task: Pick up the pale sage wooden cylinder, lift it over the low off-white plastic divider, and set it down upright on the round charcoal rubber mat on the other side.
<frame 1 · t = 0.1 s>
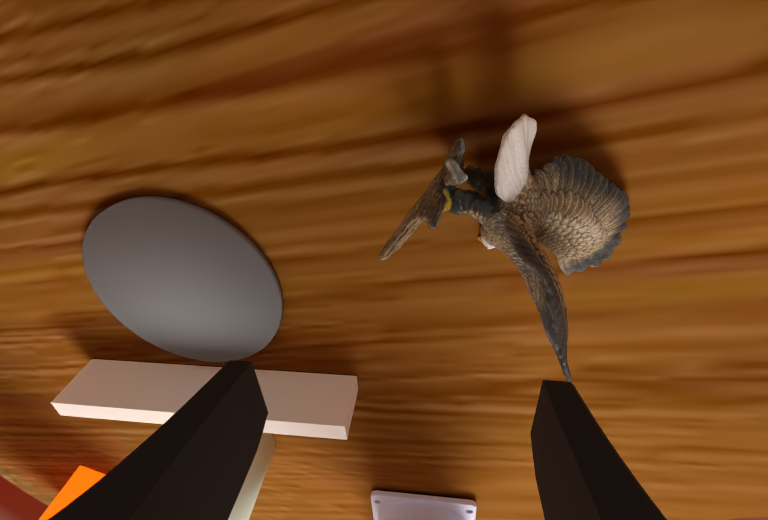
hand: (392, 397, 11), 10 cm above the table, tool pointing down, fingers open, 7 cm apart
eagle figurine: (517, 206, 18), on the table
sage cylinder: (246, 437, 31), on the table
divider wall: (220, 373, 27), on the table
rubber mat: (186, 287, 23), on the table
orange juice: (118, 497, 40), on the table
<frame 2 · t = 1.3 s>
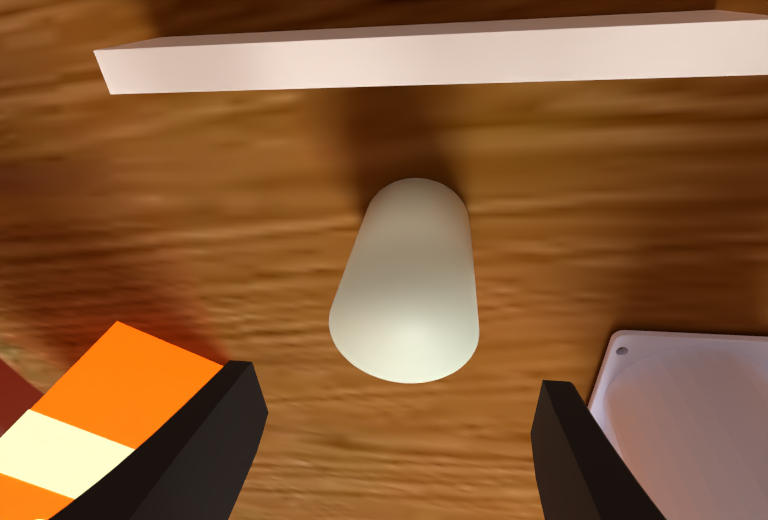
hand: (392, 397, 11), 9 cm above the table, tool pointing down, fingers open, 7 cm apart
sage cylinder: (416, 227, 18), on the table
divider wall: (414, 45, 14), on the table
orange juice: (169, 385, 27), on the table
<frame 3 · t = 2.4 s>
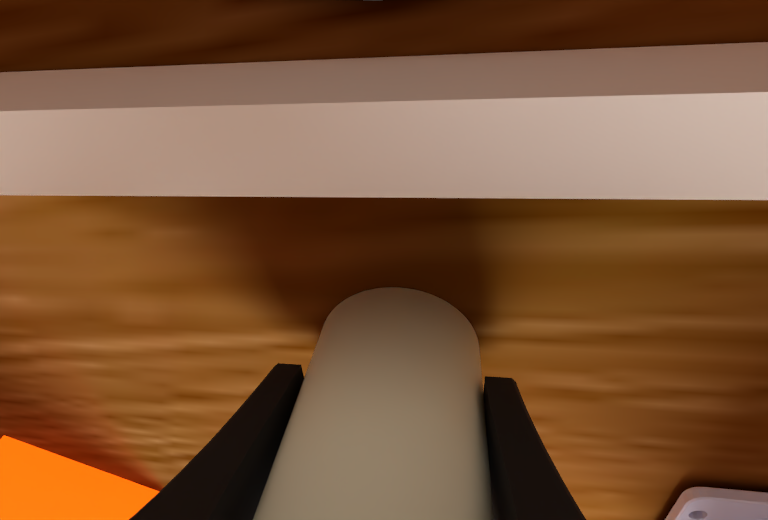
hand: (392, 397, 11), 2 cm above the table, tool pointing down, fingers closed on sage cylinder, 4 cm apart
sage cylinder: (398, 350, 12), on the table, touching gripper
divider wall: (386, 91, 8), on the table
orange juice: (88, 501, 21), on the table
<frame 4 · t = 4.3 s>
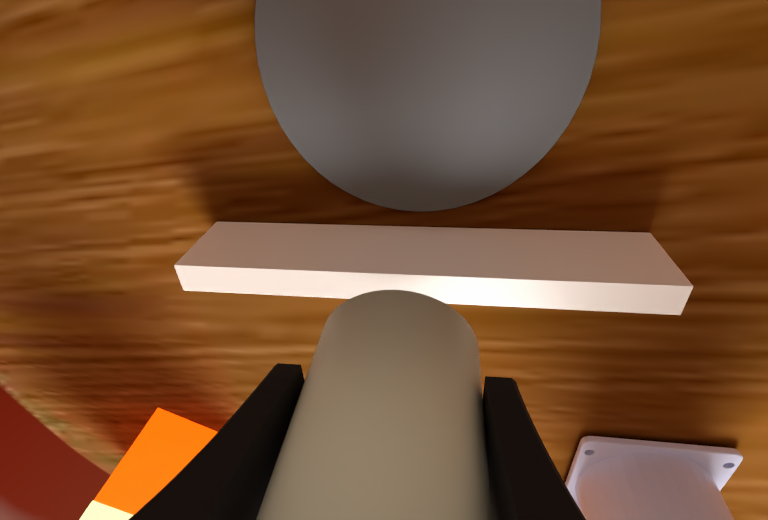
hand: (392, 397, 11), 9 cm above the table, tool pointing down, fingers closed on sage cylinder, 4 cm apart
sage cylinder: (398, 351, 12), point 7 cm above the table, touching gripper
divider wall: (418, 239, 18), on the table
rubber mat: (419, 58, 14), on the table
orange juice: (198, 455, 31), on the table
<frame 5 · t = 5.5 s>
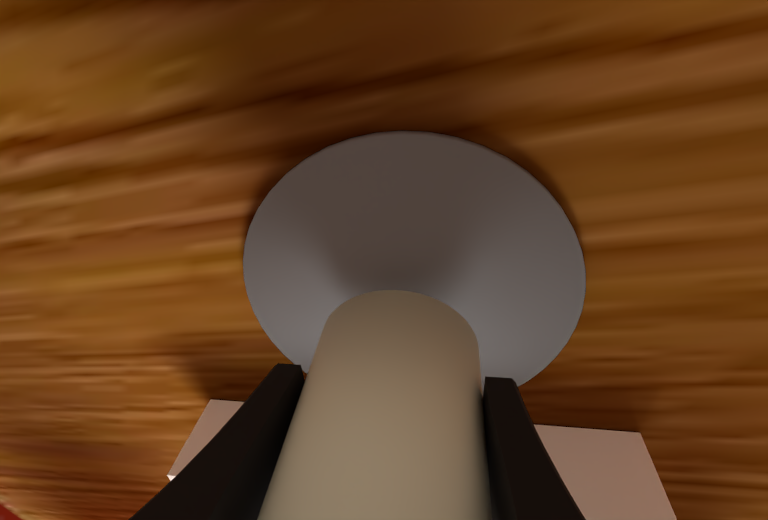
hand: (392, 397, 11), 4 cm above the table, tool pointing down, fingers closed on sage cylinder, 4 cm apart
sage cylinder: (398, 351, 12), point 3 cm above the table, touching gripper
divider wall: (410, 423, 18), on the table
rubber mat: (406, 294, 14), on the table
when the fingers open (3 cm above the table, at t = 6.2 s): sage cylinder drops 1 cm, resting on rubber mat.
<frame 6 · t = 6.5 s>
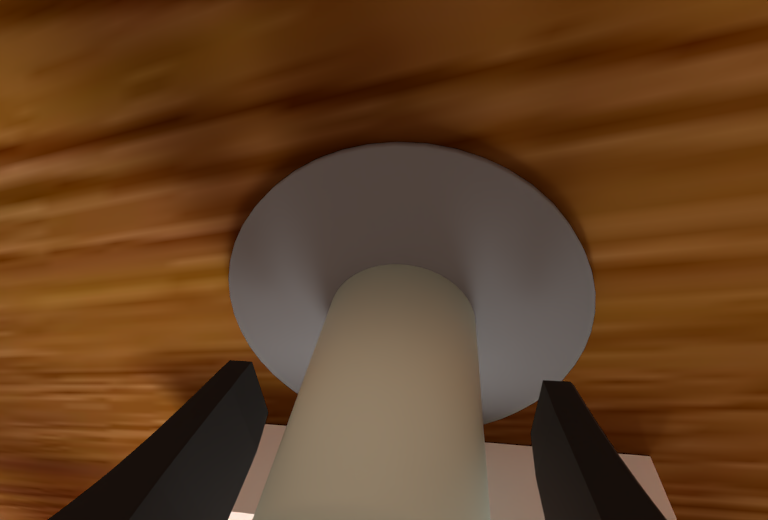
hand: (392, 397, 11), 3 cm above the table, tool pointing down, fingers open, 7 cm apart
sage cylinder: (401, 324, 13), resting on rubber mat
divider wall: (408, 444, 17), on the table
rubber mat: (403, 313, 13), on the table
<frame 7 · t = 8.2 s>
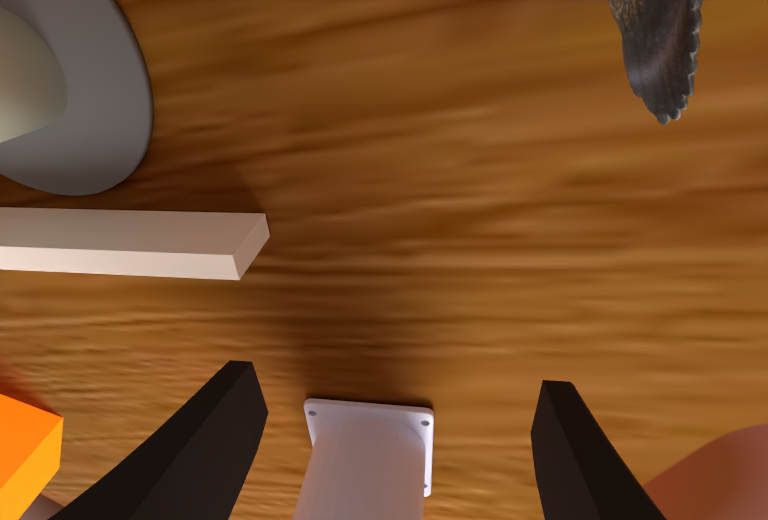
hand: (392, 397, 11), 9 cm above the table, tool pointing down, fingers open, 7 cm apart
sage cylinder: (9, 69, 16), resting on rubber mat
divider wall: (92, 220, 21), on the table
rubber mat: (18, 65, 17), on the table
orange juice: (15, 424, 33), on the table
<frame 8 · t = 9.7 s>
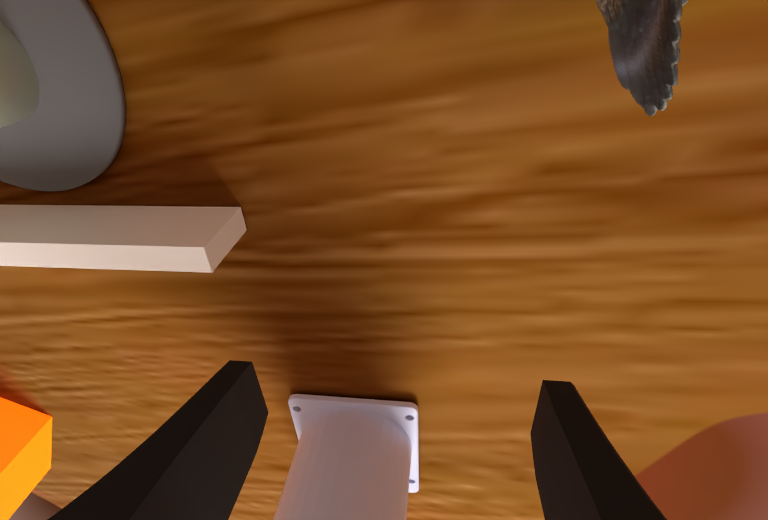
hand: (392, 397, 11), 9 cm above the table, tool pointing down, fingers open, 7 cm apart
divider wall: (71, 216, 21), on the table
orange juice: (5, 424, 33), on the table
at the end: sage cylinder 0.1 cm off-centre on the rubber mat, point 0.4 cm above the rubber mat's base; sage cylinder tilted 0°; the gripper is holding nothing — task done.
